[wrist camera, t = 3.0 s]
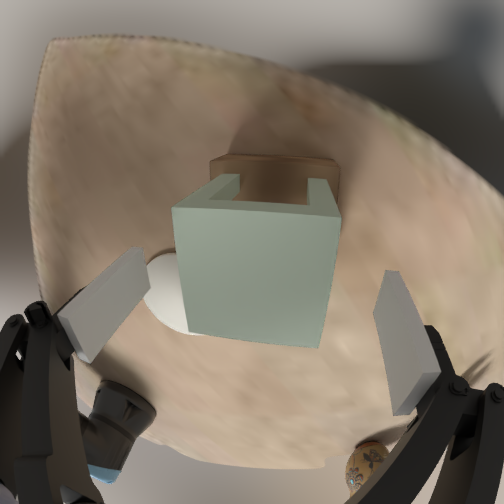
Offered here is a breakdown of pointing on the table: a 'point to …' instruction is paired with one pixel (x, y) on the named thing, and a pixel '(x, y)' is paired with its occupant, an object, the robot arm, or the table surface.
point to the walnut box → (276, 176)
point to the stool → (256, 263)
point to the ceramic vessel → (364, 464)
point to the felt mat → (166, 293)
